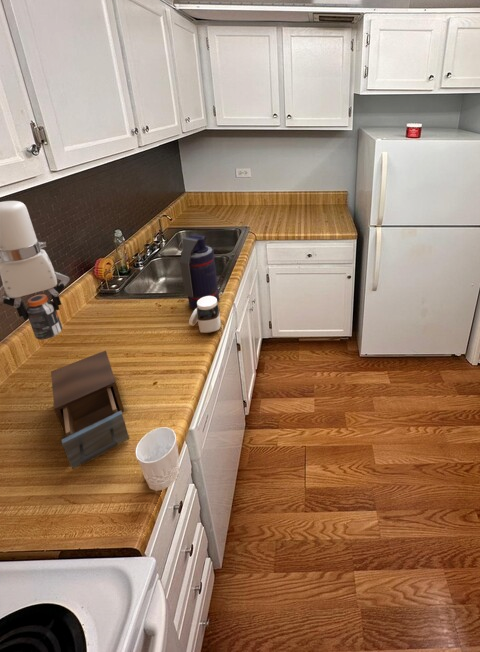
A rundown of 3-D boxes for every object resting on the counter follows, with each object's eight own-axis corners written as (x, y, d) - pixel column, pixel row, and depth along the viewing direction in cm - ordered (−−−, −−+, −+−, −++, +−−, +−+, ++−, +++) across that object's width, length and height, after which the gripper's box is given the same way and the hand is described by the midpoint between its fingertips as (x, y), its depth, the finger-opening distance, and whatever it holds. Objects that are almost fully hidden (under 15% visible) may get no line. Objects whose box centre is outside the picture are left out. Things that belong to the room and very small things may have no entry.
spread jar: (221, 335, 118) (217, 307, 114) (187, 340, 115) (182, 312, 111) (221, 315, 129) (218, 289, 124) (191, 319, 126) (186, 293, 122)
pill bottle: (67, 330, 92) (55, 295, 88) (43, 343, 87) (29, 306, 83) (55, 323, 94) (43, 289, 90) (31, 336, 89) (17, 300, 85)
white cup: (160, 501, 69) (151, 470, 66) (136, 481, 73) (127, 450, 69) (190, 467, 76) (183, 437, 72) (167, 451, 79) (160, 421, 75)
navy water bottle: (202, 293, 143) (193, 228, 132) (225, 299, 139) (217, 233, 128) (179, 311, 131) (167, 241, 120) (203, 317, 127) (193, 247, 116)
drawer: (134, 453, 78) (126, 428, 74) (74, 487, 71) (63, 461, 68) (118, 401, 91) (111, 378, 88) (67, 426, 84) (57, 401, 81)
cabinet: (124, 410, 89) (115, 381, 85) (66, 439, 82) (54, 408, 78) (113, 377, 100) (105, 350, 96) (61, 399, 92) (50, 371, 89)
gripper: (61, 238, 89) (78, 295, 96) (-27, 255, 79) (-1, 318, 86) (64, 247, 84) (82, 306, 91) (-30, 267, 74) (-2, 333, 80)
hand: (41, 311), depth 88 cm, fingers closed on pill bottle, 6 cm apart
